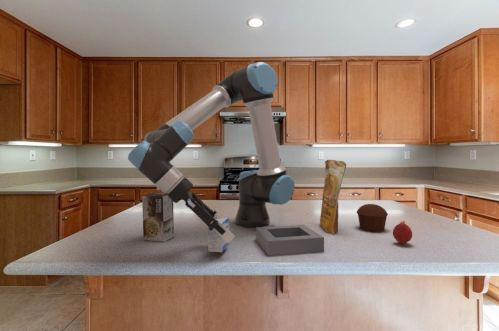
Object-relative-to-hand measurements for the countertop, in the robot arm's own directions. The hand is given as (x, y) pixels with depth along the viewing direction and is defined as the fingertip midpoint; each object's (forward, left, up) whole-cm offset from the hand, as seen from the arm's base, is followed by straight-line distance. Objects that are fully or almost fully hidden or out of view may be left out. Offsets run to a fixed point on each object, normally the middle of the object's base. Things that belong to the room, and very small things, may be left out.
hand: (229, 234), depth 86 cm
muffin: (-14, +60, -6) cm, 62 cm away
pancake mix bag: (-18, +44, -6) cm, 48 cm away
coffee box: (-19, -23, -6) cm, 30 cm away
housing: (-2, +20, -5) cm, 21 cm away
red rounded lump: (+5, +58, -6) cm, 58 cm away
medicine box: (0, -3, -4) cm, 5 cm away
